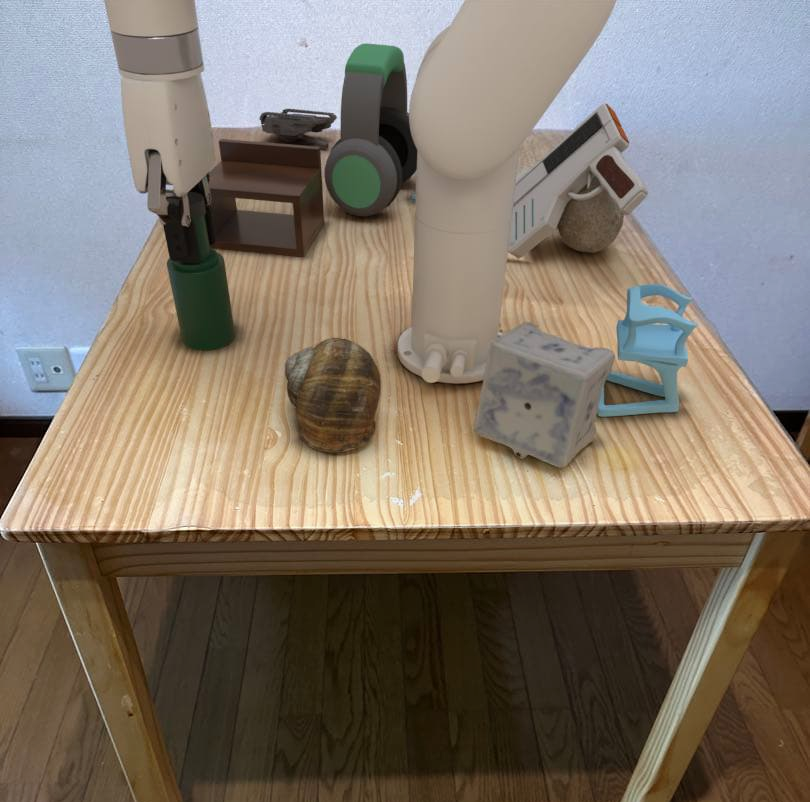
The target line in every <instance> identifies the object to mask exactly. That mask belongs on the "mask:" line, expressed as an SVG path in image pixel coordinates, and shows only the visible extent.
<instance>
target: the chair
mask: <svg viewBox="0 0 810 802" xmlns="http://www.w3.org/2000/svg"><path fill="white" fill-rule="evenodd" d="M652 296H660V297H665V298H666V299H668V300H671V301H672V302H674V303H675V304H676V305H678V307H677V309H676V311H673V310H672V309H669V308H667V307H665V306H659V305H650V304H649V305H648V304H646V303H643V301H642V299H644V298H646V297H647V298H648V297H652ZM692 300H693V297H691V296H688V295H685V294H682V293H680V292H678V291H677V290H675V289H674V288H672V287H670V286H668V285H665V284H663V283H645V284H640V285H636V286H631V287H629V288H627V289H626V312H625V313H626V315H625V316H624V319H617V324H616V327H615V328H616V338H617V339H616V341H617V360H618V361H622V362H636V363H638V364H642V365H644V366H648V367H650V368H652V369H654V370H655V371H656V372H657V373H658V375H659V378H660V380H661V383H657V382H653V381H650V380H646V379H642V378H639V377H635V376H632V375H628V374H625V373H621V372H617V371H613V370H611V372H610V374H609V376H608V377H607V379H606V381H608V382H610V383H611V382H612V383H614V384H617V385H621V386H624V387H628V388H631V389H634V390H638V391H641V392H644V393H648V394H651V395H653V396H657V397H662V398H664V399H658V400H657V399H656V400H647V401H638V402H628V403H619V404H610V405H609V404H608V405H606V404H605V385H604V386H603V388H602V393H601V398H600V401H599V405H598V411H597V413H596V416H598V417H603V418H606V417H607V418H608V417H622V416H623V417H624V416H633V415H644V414H657V413H660V414H661V413H677V412H679V408H680V397H679V390H678V371H679V370H680V369H681V368H687V364H688V361H689V356H688V355H689V354H688V349H687V345H686V342H687V340H688V338H689V336H690V335H691V334H692V332H693V331H694V330H695V328H696V327H697V326H698V323H697V322H694V321H691V320H688V319H687V318H684V317H683V315H684V313H685V311H686V308H687V307H688V305H689V304H690V303H691V302H692Z"/></svg>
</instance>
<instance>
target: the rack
mask: <svg viewBox="0 0 810 802" xmlns="http://www.w3.org/2000/svg"><path fill="white" fill-rule="evenodd" d="M218 148H219V155H220V161H219V162H218V163H217V164H216V165H215V166H213V167H212V169H211V170H210V171H209V175H210V177H209V179H210V181H209V189H210V193H211V203H210V204H206V205H208V206H211V209H212V216H213V222H214V229H215V236H216V242H215V243H214V245H209V246H210V248H212V249H218V250H229V251H230V250H231V251H237V252H238V251H239V252H240V251H241V252H248V253H250V252H251V253H259V254H270V255H280V256H292V257H299V258H300V257H301V258H304V257H305V256H306V254H307V252H308V251H309V249H310V248H311V247H312V245H313V243H314V241H316V238H317V237H318V235H319V234H320V232H321V230H322V229H323V228H324V226H325V212H324V194H323V192H324V191H323V176H322V175H323V173H322V154H321V147H320V146H314V145H301V144H291V143H289V144H288V143H277V142H264V141H251V140H242V139H240V140H238V139H226V138H220V139H219V140H218ZM236 199H241V200H254V201H264V202H276V203H286V204H292V211H293V214H287V213H278V212H277V213H276V212H268V211H267V212H266V211H254V210H246V209H245V210H243V209H238V208H237V200H236Z"/></svg>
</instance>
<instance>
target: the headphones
mask: <svg viewBox="0 0 810 802" xmlns="http://www.w3.org/2000/svg"><path fill="white" fill-rule="evenodd" d="M341 90H342V91H341V98H340V99H341V100H340V101H341V102H340V138H339V139H338V140H337V141H336V142H335V144H334V145H333V146H332V148H331V149H330V152H329V154H328V157H327V158H326V161H325V164H324V165H325V166H324V183H325V186H326V189H327V191H328V194H329V196H330V198H331V199H332V200H333V201H334V203H335V204H336V205H337V206H338V207H339V208H340V209H342V210H343V211H345V212H346V213H349V214H351V215H353V216H357V217H368V216H374V215H376V214H378V213H380V212H382V211H384V210H385V209H386V208H388V207H389V206H390V205H391V204H392V203H393V202H394V200H395V199H396V198H397V196H398V194H399V193H400V191H401V187H402V184H405V183H406V182H407V181H409V180H410V179H411V178H412V176H414V174H416V172H417V148H416V146H415V144H414V141H413V138H412V135H411V131H410V125H409V111H408V80H407V69H406V64H405V56H404V52H403V51H402V49H401V48H399V47H398V46H395V45H388V44H377V43H361V44H359V45H357V46H356V47H355V48H354V49H353V50H352V52H351V53H350V55H349V57H348V59H347V61H346V63H345V66H344V77H343V85H342V89H341Z"/></svg>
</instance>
